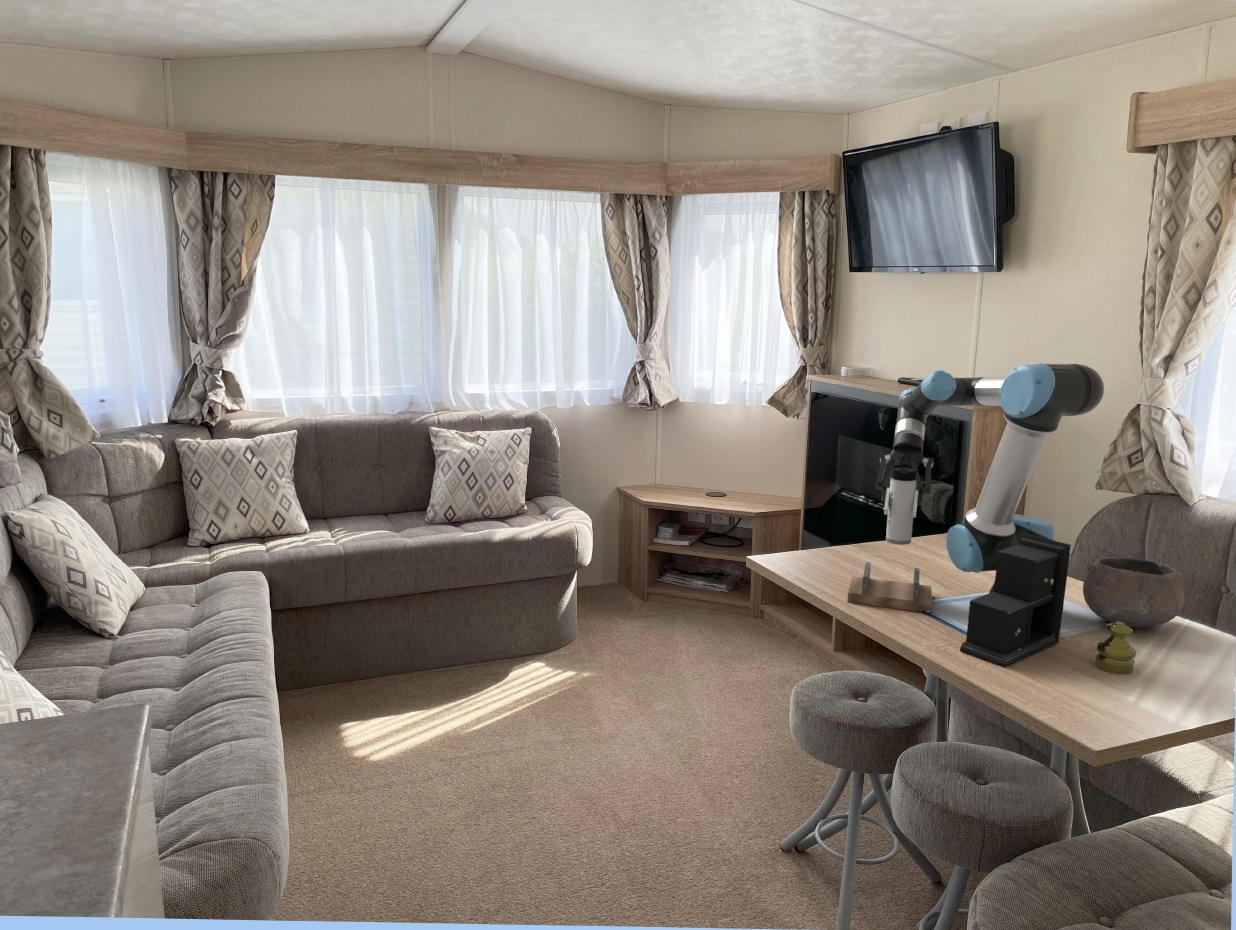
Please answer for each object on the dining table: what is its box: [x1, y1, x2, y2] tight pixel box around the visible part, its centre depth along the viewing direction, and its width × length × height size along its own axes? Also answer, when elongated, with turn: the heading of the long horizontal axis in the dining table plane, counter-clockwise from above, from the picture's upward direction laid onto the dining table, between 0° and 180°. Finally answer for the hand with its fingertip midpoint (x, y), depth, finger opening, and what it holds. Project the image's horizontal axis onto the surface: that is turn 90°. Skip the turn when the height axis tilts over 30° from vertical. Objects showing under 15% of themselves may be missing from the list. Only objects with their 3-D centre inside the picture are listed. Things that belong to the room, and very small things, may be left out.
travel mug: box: [885, 463, 918, 546], centre depth 232 cm, size 6×7×20 cm
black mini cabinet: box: [959, 534, 1071, 668], centre depth 199 cm, size 23×11×24 cm, turn 128°
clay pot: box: [1082, 556, 1186, 628], centre depth 217 cm, size 21×21×15 cm
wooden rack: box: [847, 561, 933, 612], centre depth 231 cm, size 20×14×7 cm
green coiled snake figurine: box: [1094, 622, 1137, 675], centre depth 191 cm, size 7×7×10 cm
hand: (899, 513), depth 229 cm, fingers closed on travel mug, 6 cm apart
